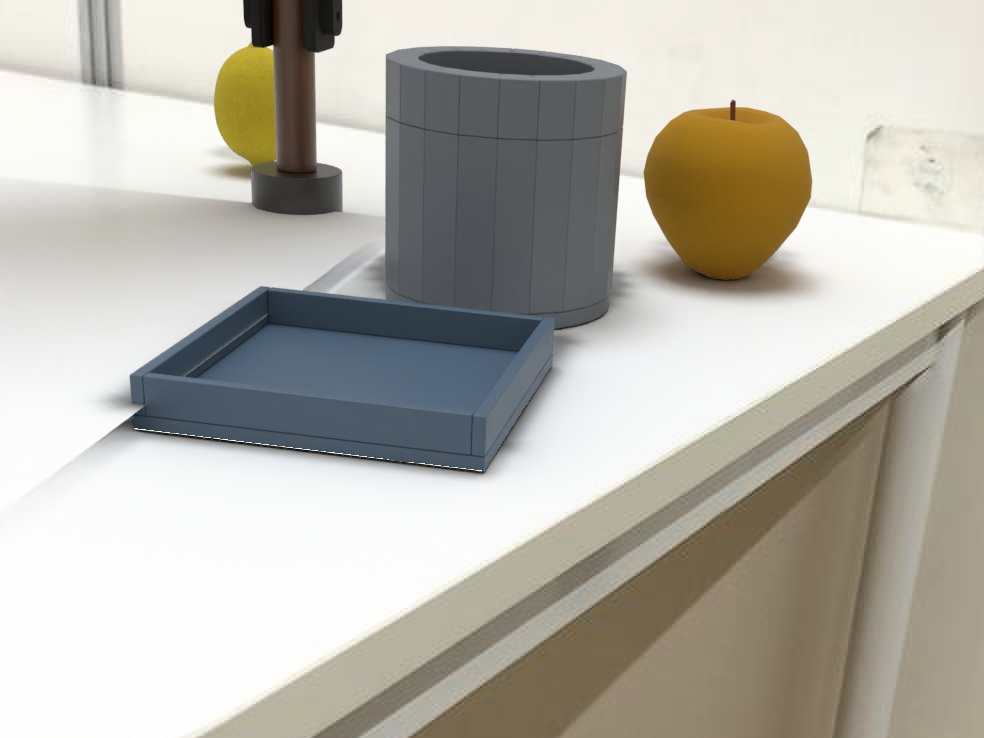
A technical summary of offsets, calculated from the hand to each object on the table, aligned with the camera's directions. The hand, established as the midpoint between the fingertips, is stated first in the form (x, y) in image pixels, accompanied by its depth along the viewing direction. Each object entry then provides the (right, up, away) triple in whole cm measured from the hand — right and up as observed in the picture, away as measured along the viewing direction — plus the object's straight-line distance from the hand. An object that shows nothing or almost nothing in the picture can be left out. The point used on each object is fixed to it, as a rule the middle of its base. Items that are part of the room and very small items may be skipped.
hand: (293, 44), depth 80 cm
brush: (-1, -9, +4) cm, 10 cm away
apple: (+23, -12, +1) cm, 26 cm away
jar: (+11, -15, -7) cm, 20 cm away
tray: (+7, -22, -21) cm, 31 cm away
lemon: (-6, -2, +17) cm, 18 cm away
